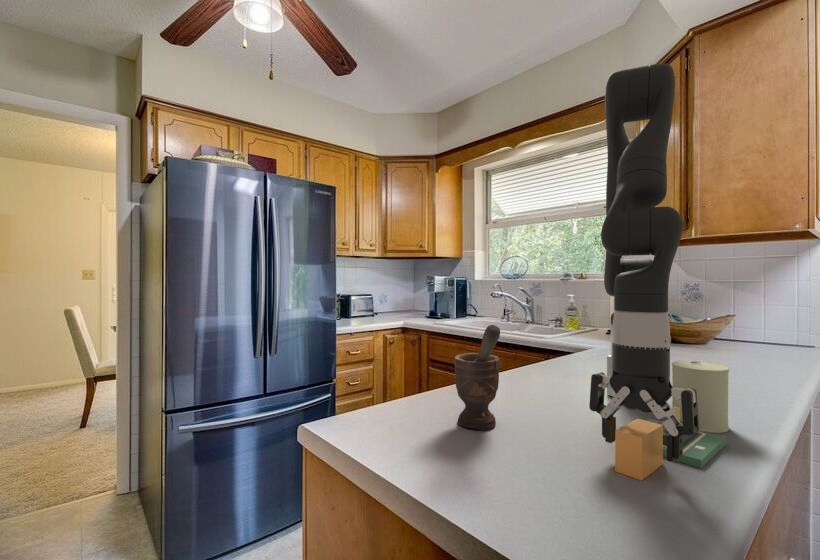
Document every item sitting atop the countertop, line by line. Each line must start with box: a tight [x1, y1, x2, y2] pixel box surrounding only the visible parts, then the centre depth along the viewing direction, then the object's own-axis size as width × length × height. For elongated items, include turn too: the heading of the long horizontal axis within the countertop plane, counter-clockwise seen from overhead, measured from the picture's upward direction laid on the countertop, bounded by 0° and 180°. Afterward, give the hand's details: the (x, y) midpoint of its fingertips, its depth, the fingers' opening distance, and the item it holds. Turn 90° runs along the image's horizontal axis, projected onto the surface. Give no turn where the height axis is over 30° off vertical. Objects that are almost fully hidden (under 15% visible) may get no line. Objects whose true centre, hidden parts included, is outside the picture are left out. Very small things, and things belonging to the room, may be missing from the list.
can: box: [671, 360, 730, 434], centre depth 79 cm, size 9×9×12 cm
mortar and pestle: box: [454, 324, 501, 431], centre depth 77 cm, size 12×9×20 cm
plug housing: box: [614, 418, 664, 481], centre depth 61 cm, size 4×8×6 cm, turn 130°
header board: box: [646, 407, 727, 469], centre depth 70 cm, size 12×14×6 cm
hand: (639, 450), depth 61 cm, fingers open, 8 cm apart
